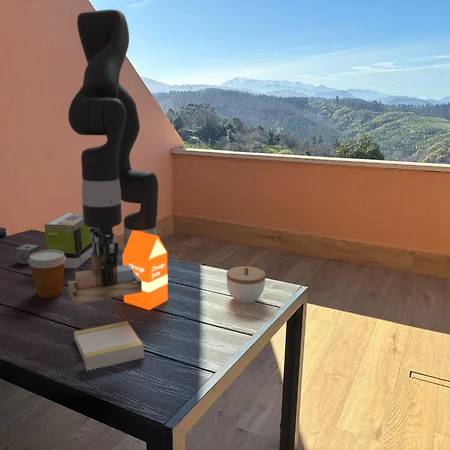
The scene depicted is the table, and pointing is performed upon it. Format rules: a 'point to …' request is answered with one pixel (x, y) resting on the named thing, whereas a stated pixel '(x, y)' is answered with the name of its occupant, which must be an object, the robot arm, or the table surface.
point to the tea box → (70, 238)
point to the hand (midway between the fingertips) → (105, 280)
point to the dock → (108, 345)
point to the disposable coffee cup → (48, 272)
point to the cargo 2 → (124, 274)
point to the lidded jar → (245, 283)
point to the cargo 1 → (85, 280)
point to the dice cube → (26, 253)
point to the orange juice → (147, 269)
